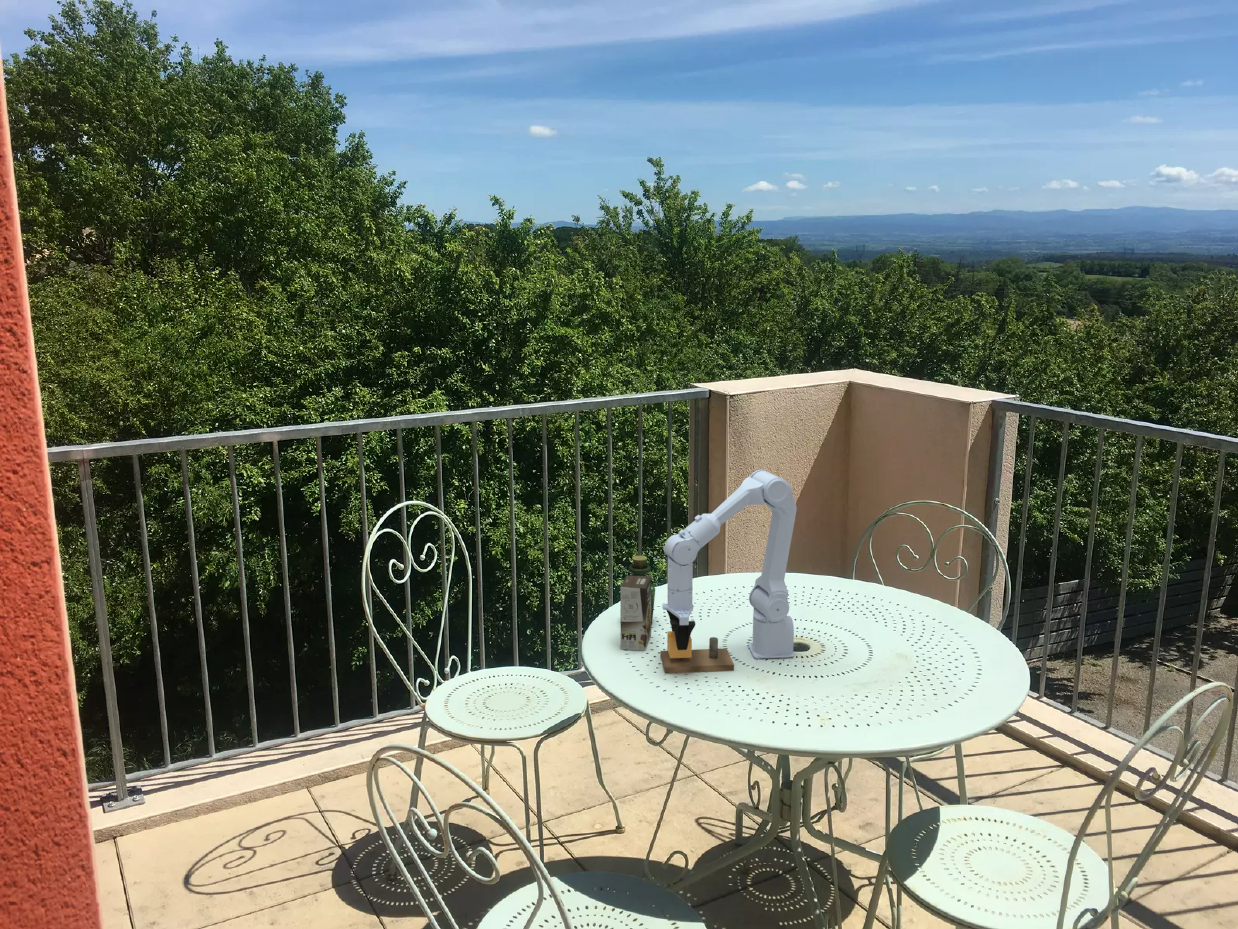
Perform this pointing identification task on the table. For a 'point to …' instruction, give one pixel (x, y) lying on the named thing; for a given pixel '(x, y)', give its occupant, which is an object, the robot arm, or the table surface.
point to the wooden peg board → (699, 660)
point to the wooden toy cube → (673, 647)
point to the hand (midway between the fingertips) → (679, 642)
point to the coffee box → (635, 612)
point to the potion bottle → (642, 569)
